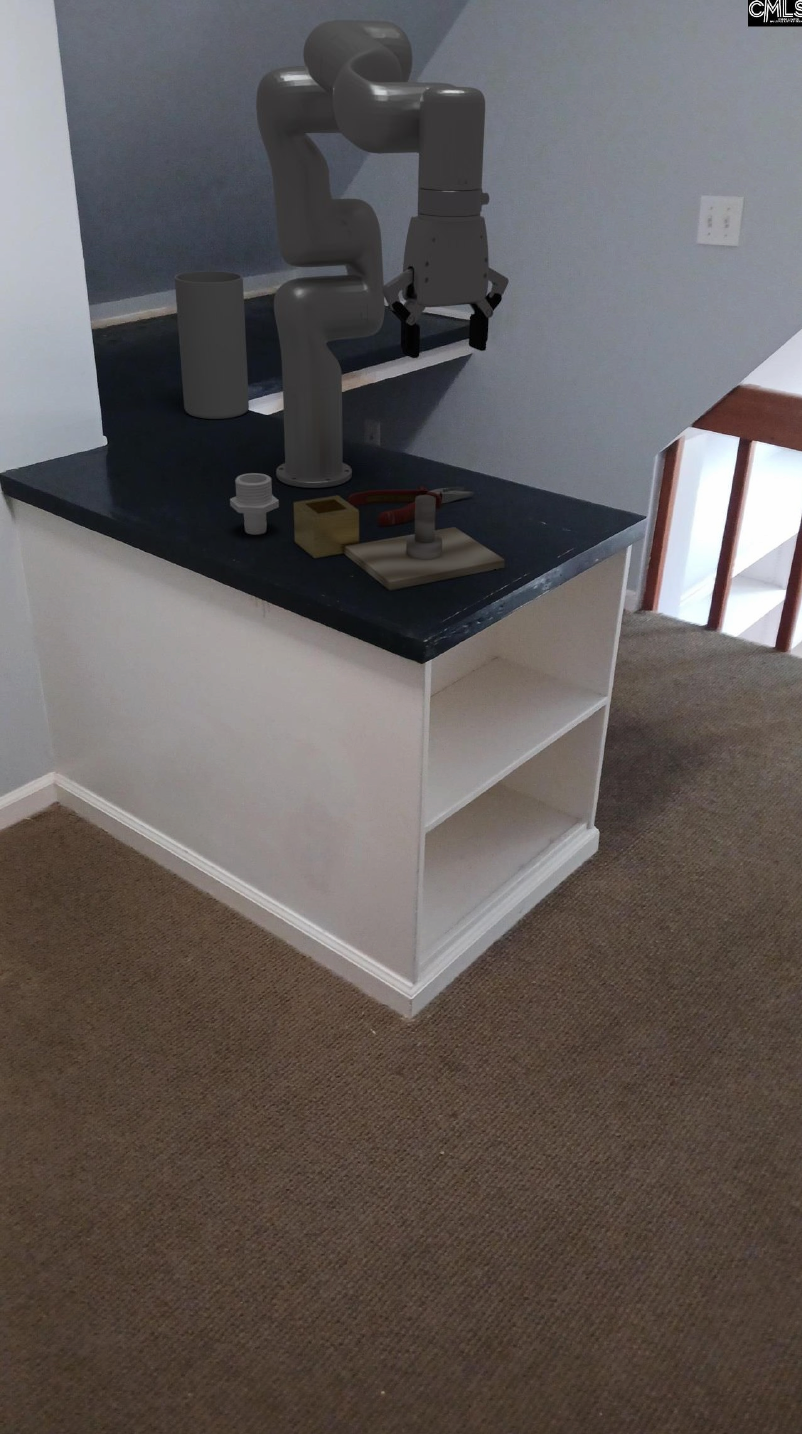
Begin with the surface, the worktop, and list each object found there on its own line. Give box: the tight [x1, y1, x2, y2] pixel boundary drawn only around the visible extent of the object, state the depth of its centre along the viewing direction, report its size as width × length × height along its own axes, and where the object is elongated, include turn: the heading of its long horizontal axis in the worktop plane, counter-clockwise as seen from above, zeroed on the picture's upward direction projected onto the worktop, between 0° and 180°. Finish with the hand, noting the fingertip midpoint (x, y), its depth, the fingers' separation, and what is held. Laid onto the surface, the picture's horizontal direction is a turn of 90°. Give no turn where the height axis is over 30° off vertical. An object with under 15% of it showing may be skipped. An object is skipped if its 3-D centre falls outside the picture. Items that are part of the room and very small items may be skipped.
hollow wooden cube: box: [293, 494, 360, 559], centre depth 167 cm, size 7×7×6 cm
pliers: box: [347, 485, 476, 527], centre depth 184 cm, size 12×20×3 cm, turn 122°
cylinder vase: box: [174, 270, 250, 420], centre depth 223 cm, size 12×12×25 cm
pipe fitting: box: [229, 472, 280, 535], centre depth 172 cm, size 6×7×8 cm
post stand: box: [344, 495, 506, 591], centre depth 162 cm, size 14×18×9 cm
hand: (444, 352), depth 147 cm, fingers open, 9 cm apart
